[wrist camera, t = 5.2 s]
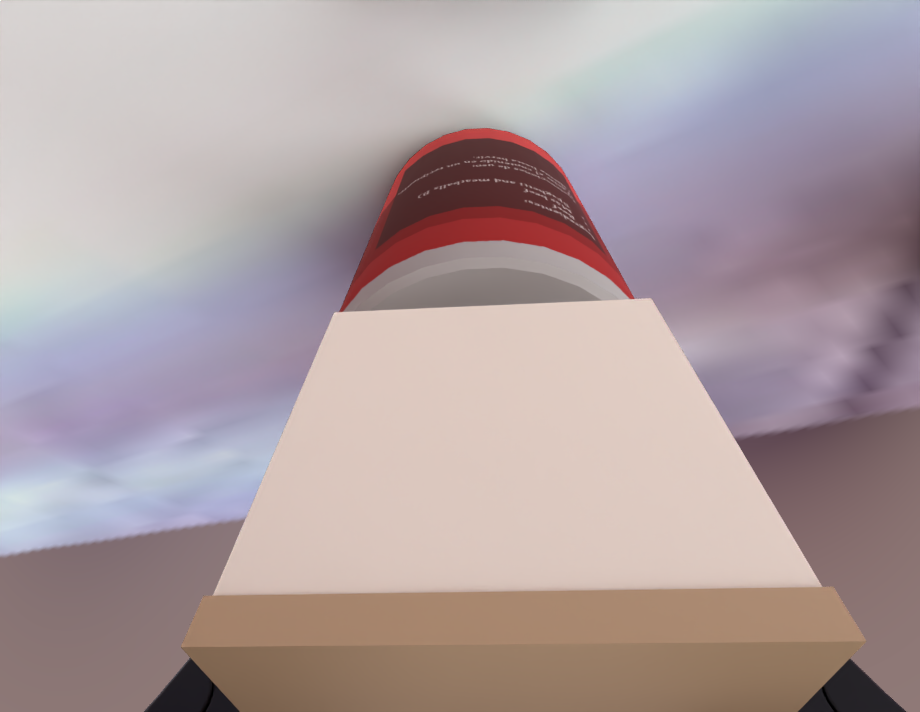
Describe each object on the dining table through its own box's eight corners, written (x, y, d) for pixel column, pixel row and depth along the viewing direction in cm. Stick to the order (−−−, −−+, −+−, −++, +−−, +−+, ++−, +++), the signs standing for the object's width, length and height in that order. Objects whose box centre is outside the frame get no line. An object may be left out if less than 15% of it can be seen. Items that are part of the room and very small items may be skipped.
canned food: (462, 339, 23) (458, 555, 14) (344, 203, 19) (237, 383, 10) (611, 251, 20) (722, 452, 11) (508, 72, 16) (554, 165, 8)
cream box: (655, 295, 8) (866, 642, 3) (602, 551, 12) (670, 841, 8) (330, 309, 8) (180, 646, 4) (393, 555, 12) (355, 837, 8)
